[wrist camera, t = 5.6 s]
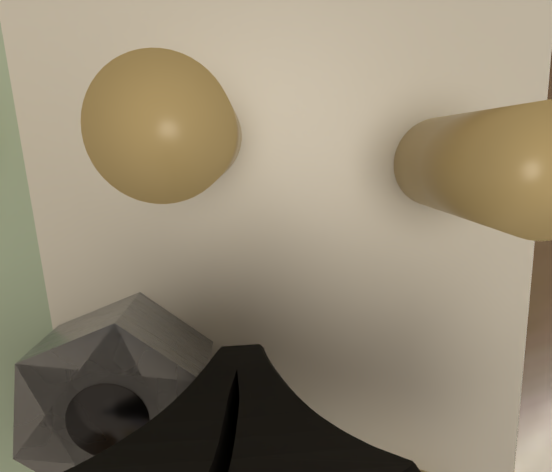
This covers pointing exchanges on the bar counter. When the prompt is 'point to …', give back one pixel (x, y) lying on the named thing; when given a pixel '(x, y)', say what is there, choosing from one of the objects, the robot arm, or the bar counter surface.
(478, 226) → the tray
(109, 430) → the nut
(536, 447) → the bar counter surface
